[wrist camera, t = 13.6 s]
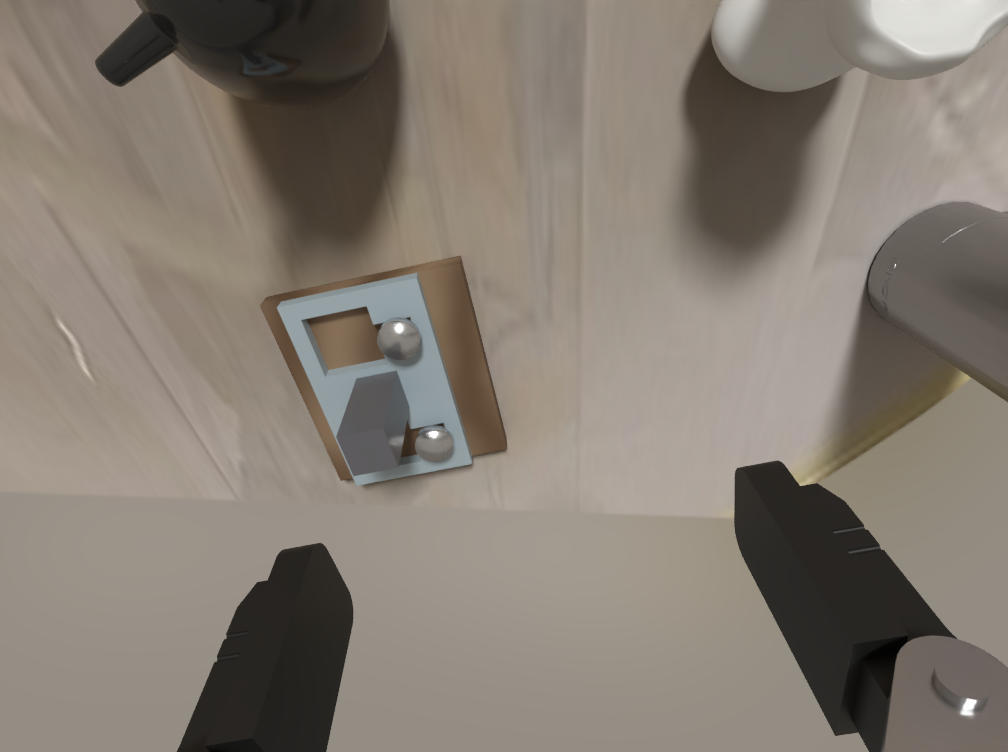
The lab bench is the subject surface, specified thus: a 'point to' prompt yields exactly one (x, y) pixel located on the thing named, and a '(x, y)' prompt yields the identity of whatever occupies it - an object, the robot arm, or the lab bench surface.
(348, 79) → the pump dispenser
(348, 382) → the keyhole panel
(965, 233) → the robot arm
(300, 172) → the lab bench surface
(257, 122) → the lab bench surface
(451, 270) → the walnut board
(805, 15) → the white scalloped vase
